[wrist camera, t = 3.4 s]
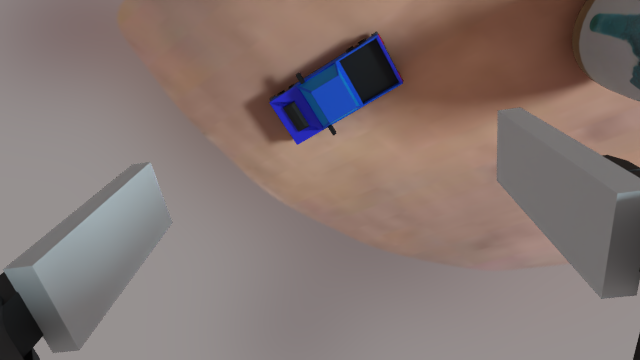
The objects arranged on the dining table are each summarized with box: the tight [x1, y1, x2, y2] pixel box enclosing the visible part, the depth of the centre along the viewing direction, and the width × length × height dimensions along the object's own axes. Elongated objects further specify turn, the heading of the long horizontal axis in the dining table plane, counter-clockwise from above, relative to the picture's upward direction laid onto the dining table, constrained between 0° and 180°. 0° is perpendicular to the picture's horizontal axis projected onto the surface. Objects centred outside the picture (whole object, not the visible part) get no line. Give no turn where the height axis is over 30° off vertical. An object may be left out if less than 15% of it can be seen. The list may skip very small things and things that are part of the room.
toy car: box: [269, 31, 403, 145], centre depth 38 cm, size 7×12×5 cm, turn 121°
